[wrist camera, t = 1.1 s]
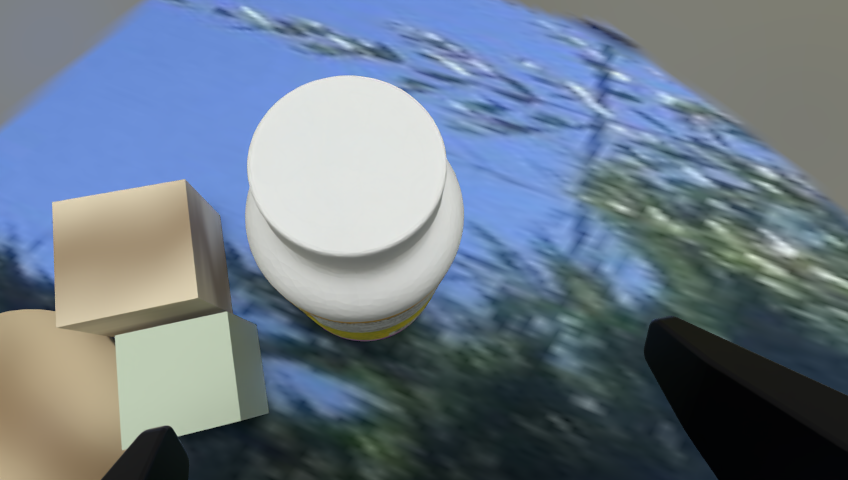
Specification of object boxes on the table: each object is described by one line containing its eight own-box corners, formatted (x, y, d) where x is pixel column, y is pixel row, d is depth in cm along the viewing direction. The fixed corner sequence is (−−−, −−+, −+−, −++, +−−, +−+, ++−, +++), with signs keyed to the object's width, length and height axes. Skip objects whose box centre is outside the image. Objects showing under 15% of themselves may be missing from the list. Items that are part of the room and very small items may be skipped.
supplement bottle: (303, 208, 24) (222, 27, 12) (433, 213, 24) (486, 45, 12) (291, 343, 22) (178, 295, 10) (432, 345, 23) (493, 302, 10)
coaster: (87, 586, 19) (77, 592, 18) (-170, 540, 18) (-188, 545, 18) (173, 334, 22) (167, 333, 21) (-47, 291, 21) (-59, 289, 21)
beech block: (233, 313, 22) (198, 297, 18) (120, 338, 22) (56, 327, 17) (220, 216, 24) (184, 179, 19) (114, 236, 23) (52, 202, 19)
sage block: (269, 413, 21) (241, 420, 17) (176, 436, 21) (121, 450, 16) (257, 325, 22) (227, 311, 18) (167, 344, 22) (114, 335, 17)
